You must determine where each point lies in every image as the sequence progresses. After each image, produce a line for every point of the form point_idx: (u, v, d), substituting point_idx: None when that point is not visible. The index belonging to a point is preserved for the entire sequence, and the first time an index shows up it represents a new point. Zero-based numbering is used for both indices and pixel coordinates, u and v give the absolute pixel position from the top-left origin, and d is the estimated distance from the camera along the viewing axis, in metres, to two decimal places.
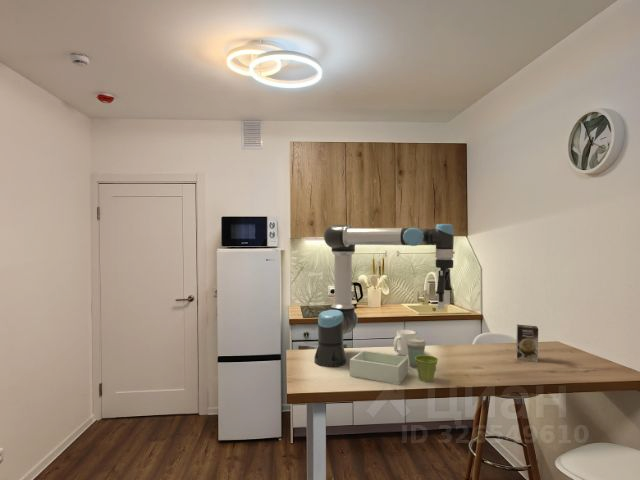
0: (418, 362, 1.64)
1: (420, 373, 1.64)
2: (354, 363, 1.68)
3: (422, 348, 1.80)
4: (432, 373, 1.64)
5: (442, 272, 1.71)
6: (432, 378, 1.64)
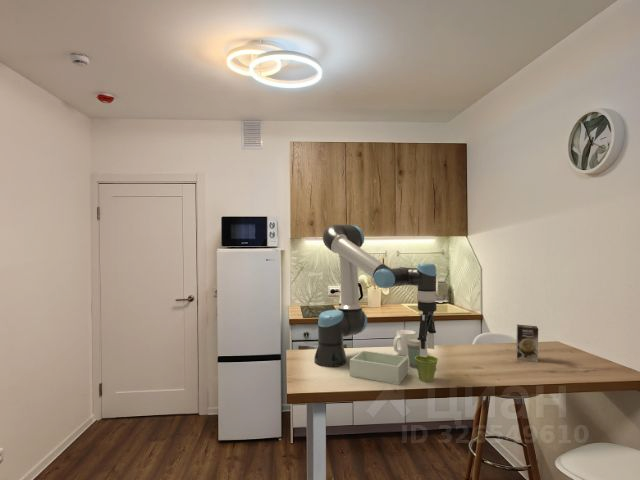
0: (418, 362, 1.64)
1: (420, 373, 1.64)
2: (354, 363, 1.68)
3: None
4: (432, 373, 1.64)
5: (424, 317, 1.60)
6: (432, 378, 1.64)
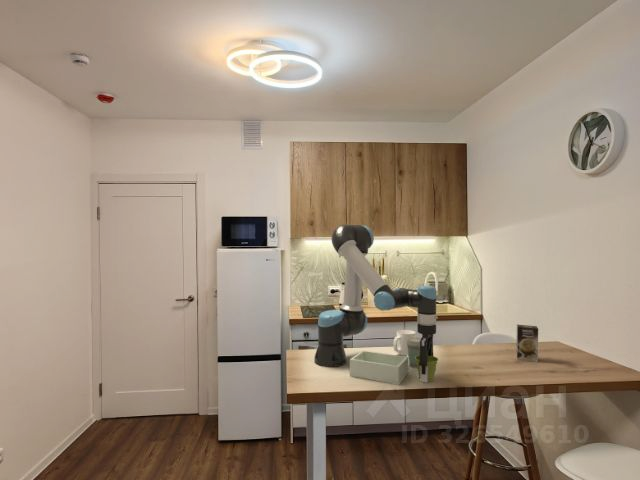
0: (418, 362, 1.64)
1: None
2: (354, 363, 1.68)
3: None
4: (432, 373, 1.64)
5: (424, 343, 1.60)
6: (432, 378, 1.64)
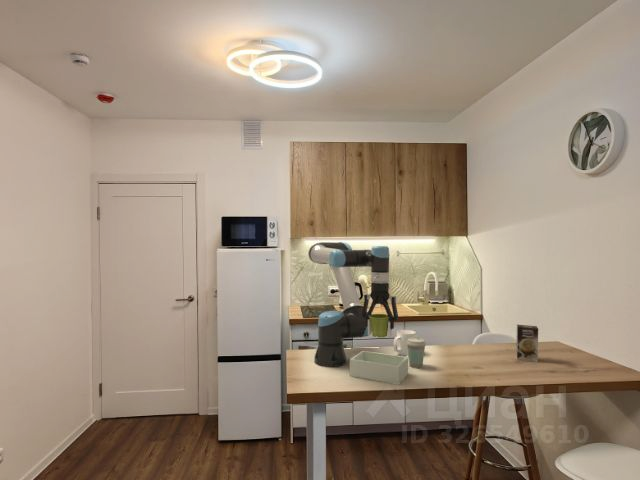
0: None
1: None
2: (354, 363, 1.68)
3: (422, 348, 1.80)
4: (374, 329, 1.69)
5: None
6: (374, 334, 1.69)
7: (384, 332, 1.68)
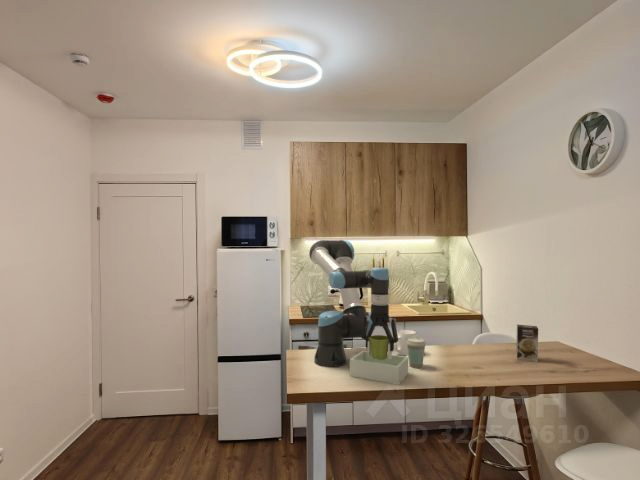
0: None
1: None
2: (354, 363, 1.68)
3: (422, 348, 1.80)
4: (373, 351, 1.69)
5: None
6: (374, 356, 1.69)
7: (384, 354, 1.68)
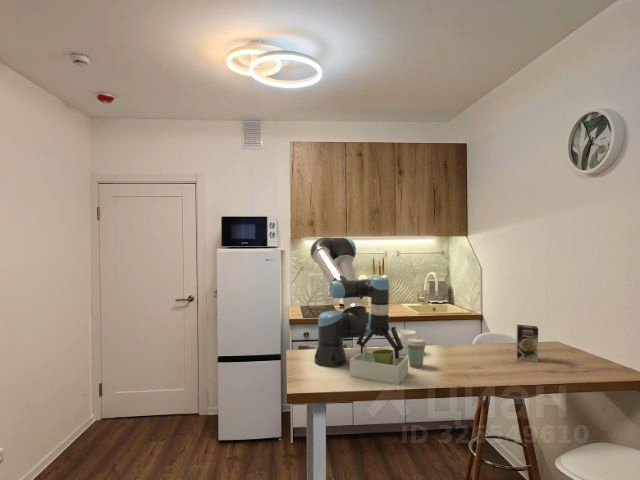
0: None
1: None
2: (354, 363, 1.68)
3: (422, 348, 1.80)
4: None
5: None
6: None
7: None
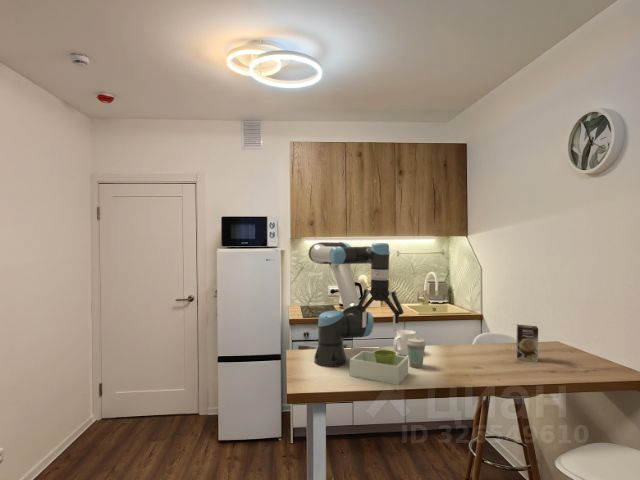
0: None
1: None
2: (354, 363, 1.68)
3: (422, 348, 1.80)
4: None
5: None
6: None
7: None
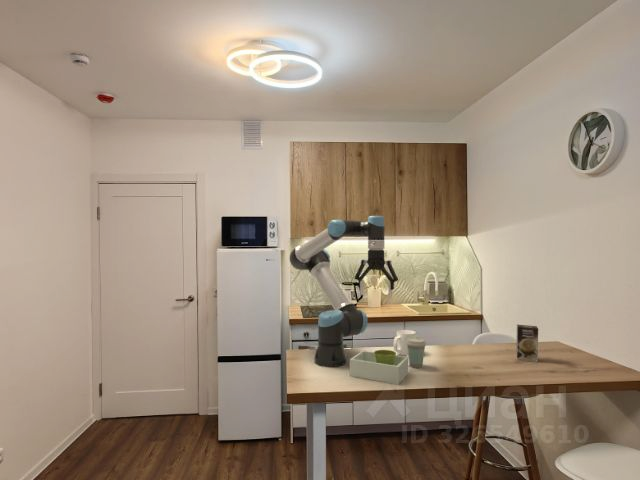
0: None
1: None
2: (354, 363, 1.68)
3: (422, 348, 1.80)
4: None
5: None
6: None
7: None
